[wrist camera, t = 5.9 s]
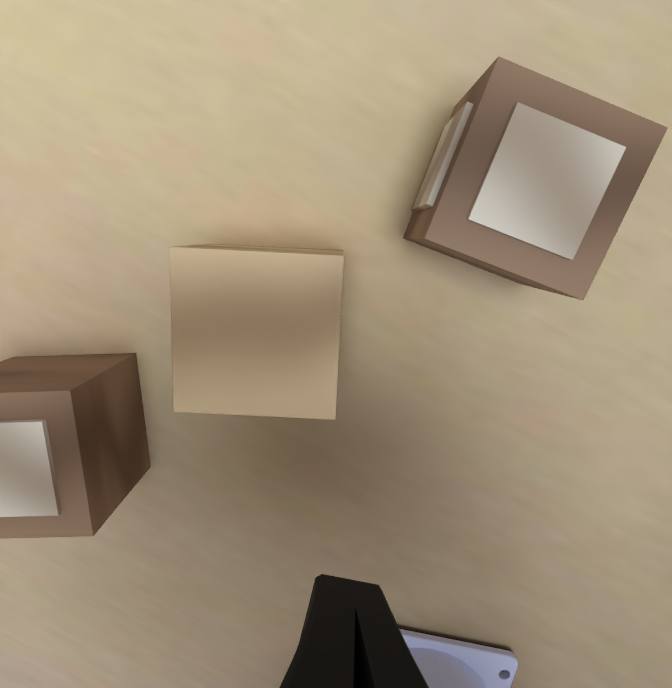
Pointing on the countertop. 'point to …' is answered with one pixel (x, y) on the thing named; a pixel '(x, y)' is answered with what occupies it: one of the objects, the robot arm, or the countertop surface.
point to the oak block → (255, 330)
